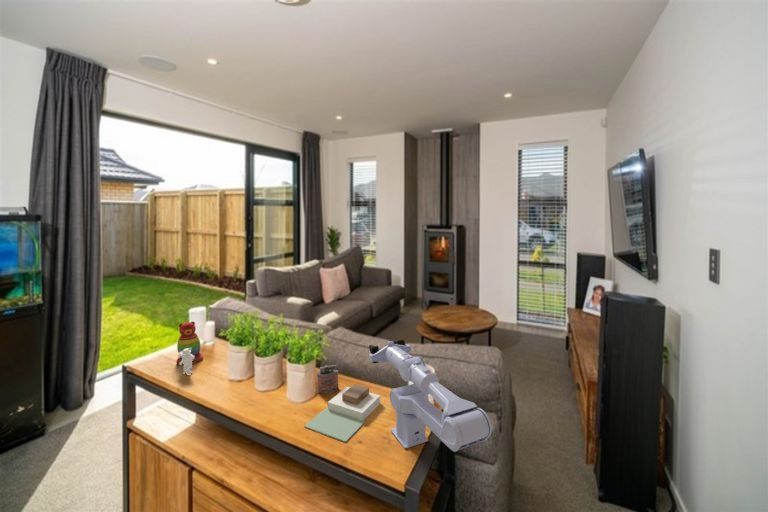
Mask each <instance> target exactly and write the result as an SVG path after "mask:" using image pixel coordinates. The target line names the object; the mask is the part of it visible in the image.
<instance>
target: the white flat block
mask: <svg viewBox="0 0 768 512" xmlns="http://www.w3.org/2000/svg"><path fill="white" fill-rule="evenodd" d="M350 387H351V386H346V387H345V388H344V389H343V390H341V391H340V392H338V393H337V394H336V395H335V396H333V397H332V398H331V399H329V401H328V402H327V409H329V410H332V411H335V412H338V413H341V414H344V415H347V416H350V417H353V418H356V419H360V420H363V421H365V420H366V419H367V418H369V416H370V415H371V414H372V413H373V412H374V411H375V410H376V408H377V407H378V406H379V405H381V395H380V394H376V393H372V392H369V395H368V396H367V397H366V398H364V399H363V400H362V401H361V402H360V403H359V404H358V405H355V404H351V403H348V402H345V401H342V394H343V393H344V392H345V391H347V390H348V389H349V388H350Z"/></svg>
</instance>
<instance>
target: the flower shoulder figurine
mask: <svg viewBox="0 0 768 512" xmlns="http://www.w3.org/2000/svg"><path fill="white" fill-rule="evenodd" d="M189 349H190V350H189ZM190 352H191V348H186V349H184V350H183V352H182V351H181V352H180V353H178V354H177V357H178V358H180V357H181V358H182V360H181V362H180V363H179V365H178V366H182V363H184V364H183V373H187V374H191V373H192V374H193V372H192V369H193V362H192V361H193V360H194V358H195V356H193V355H192V354H191V353H190ZM178 358H177V359H178ZM192 359H193V360H192Z"/></svg>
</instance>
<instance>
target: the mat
mask: <svg viewBox="0 0 768 512" xmlns="http://www.w3.org/2000/svg"><path fill="white" fill-rule="evenodd" d="M365 423H366V421H365V420H364V421H363V420H360V419H356V418H353V417H350V416H347V415H344V414H341V413H338V412H335V411H332V410H329V409H328V408H324V409H323V410H322V411H320V413H318V414H317V415H315V416H314V417H313V418H312V419H310V420H309V421H308V422H307V423H305V424H304V425H303V427H304V428H305V427H306V429H308V428H309V430H312V431H314V432H316V433H320V434H322V435H325V436H328V438H329V437H330V438H332V439H335V440H337V441H340V442H343V443H347V442H348V441H349V439H351V437H353V435H355V434H356V433H357V432H358V431H359V429H361V428H362V427H363V425H364V424H365Z"/></svg>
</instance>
